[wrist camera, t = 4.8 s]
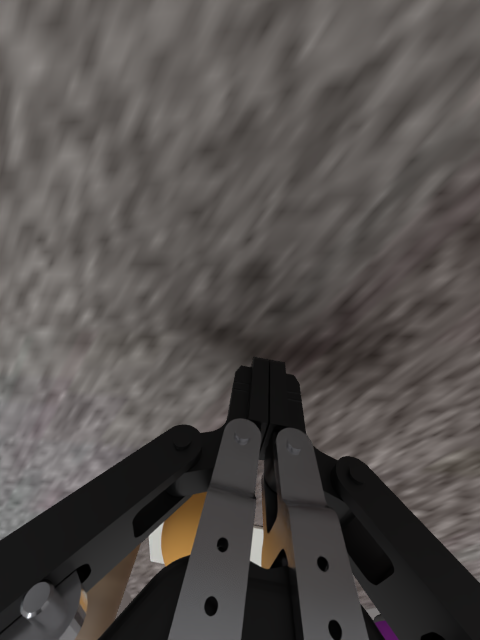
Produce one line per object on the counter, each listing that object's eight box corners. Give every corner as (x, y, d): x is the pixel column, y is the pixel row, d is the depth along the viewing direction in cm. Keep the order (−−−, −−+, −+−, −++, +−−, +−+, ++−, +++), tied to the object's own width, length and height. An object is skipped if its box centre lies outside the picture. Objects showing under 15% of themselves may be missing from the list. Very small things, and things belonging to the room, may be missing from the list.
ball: (177, 465, 22) (162, 508, 16) (246, 475, 23) (256, 520, 17) (162, 541, 22) (141, 614, 16) (233, 550, 22) (240, 625, 16)
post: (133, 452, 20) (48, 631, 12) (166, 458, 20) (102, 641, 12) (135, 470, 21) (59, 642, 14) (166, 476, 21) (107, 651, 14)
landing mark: (147, 505, 24) (146, 507, 24) (295, 533, 24) (295, 535, 24) (151, 559, 32) (150, 561, 32) (264, 580, 32) (264, 583, 31)
